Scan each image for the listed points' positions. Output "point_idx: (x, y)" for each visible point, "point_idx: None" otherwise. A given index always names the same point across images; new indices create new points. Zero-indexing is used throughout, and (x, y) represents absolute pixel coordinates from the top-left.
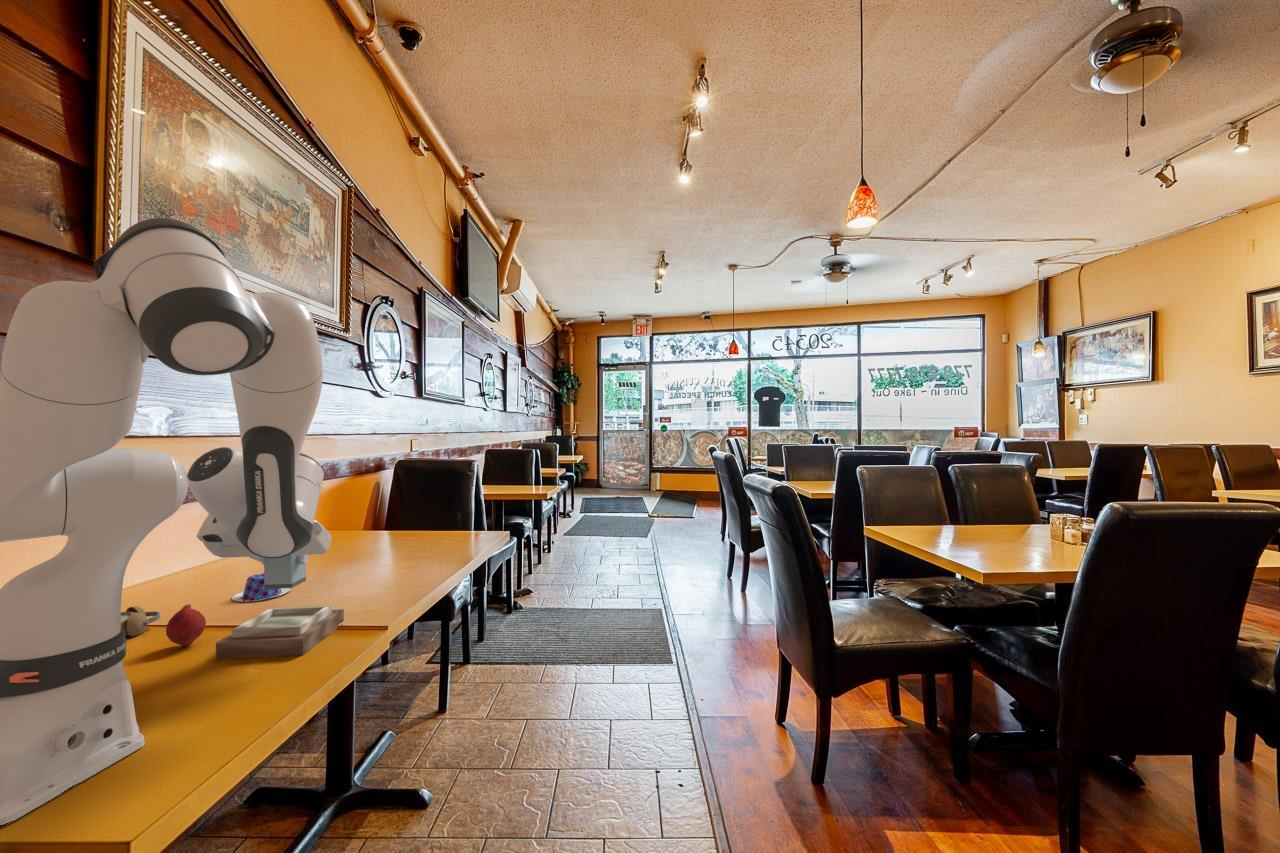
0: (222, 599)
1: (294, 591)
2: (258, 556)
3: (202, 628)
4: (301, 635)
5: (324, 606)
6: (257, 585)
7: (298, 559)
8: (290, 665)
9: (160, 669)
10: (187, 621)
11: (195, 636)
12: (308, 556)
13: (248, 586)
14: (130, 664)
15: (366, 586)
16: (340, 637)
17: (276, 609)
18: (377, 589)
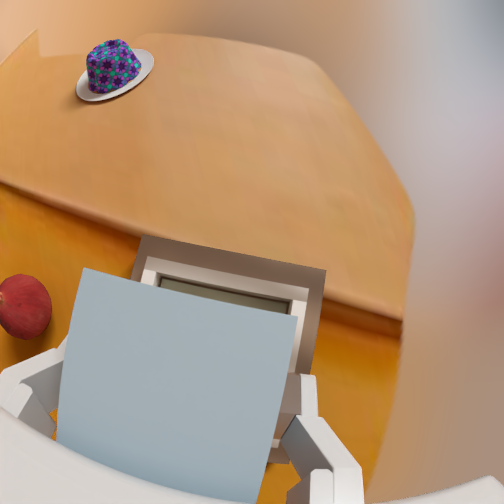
0: (67, 87)
1: (160, 64)
2: (53, 401)
3: (47, 315)
4: (279, 445)
5: (291, 291)
6: (102, 71)
7: (275, 437)
8: (273, 487)
9: (54, 415)
10: (19, 330)
11: (47, 325)
12: (314, 380)
13: (90, 72)
14: (10, 365)
15: (284, 67)
16: (333, 371)
17: (164, 273)
18: (312, 86)
